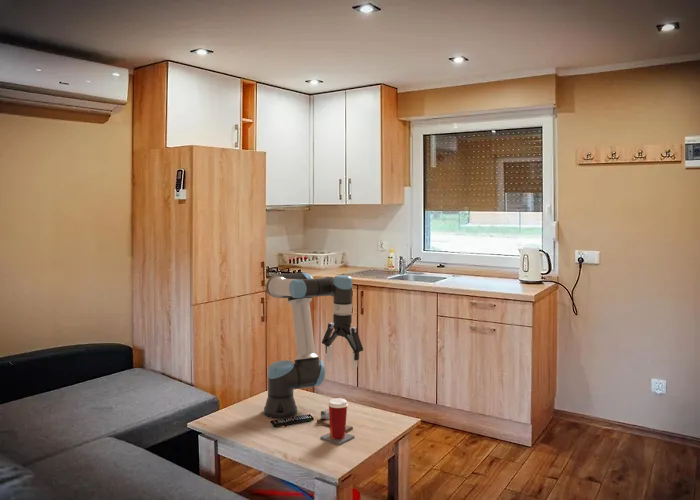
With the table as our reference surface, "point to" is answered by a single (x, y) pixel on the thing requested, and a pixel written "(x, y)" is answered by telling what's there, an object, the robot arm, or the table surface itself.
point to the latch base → (327, 423)
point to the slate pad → (337, 441)
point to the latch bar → (325, 414)
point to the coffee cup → (337, 417)
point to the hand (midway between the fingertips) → (341, 364)
